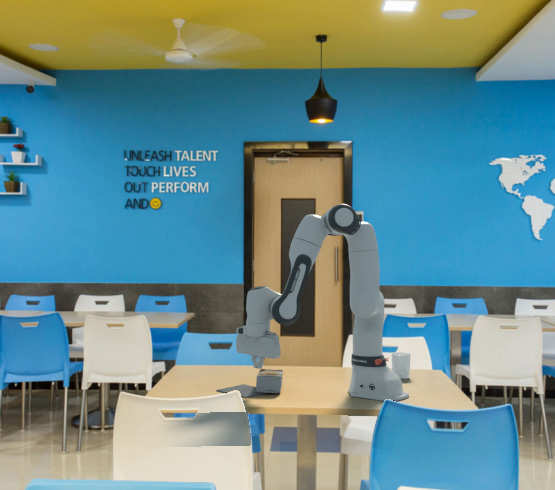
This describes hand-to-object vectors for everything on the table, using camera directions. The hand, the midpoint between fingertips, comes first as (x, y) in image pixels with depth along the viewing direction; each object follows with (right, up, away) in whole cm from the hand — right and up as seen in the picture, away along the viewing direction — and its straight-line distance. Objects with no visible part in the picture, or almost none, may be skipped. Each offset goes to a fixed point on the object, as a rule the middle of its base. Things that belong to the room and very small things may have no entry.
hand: (257, 368), depth 214 cm
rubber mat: (-5, -10, +5) cm, 12 cm away
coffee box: (+4, -6, -1) cm, 7 cm away
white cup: (+59, -11, +32) cm, 68 cm away
